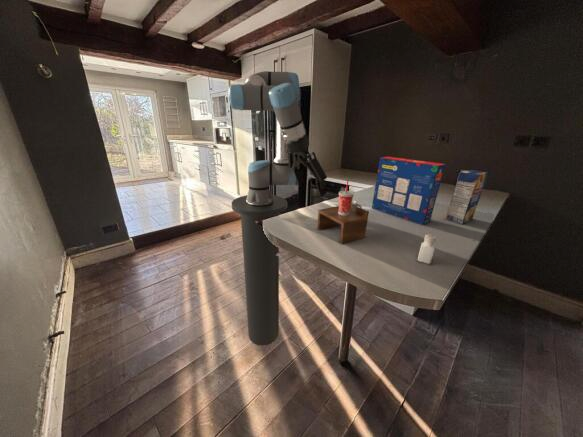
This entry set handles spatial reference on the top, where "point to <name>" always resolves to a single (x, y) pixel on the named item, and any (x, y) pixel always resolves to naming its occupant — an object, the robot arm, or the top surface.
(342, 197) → the beverage cup
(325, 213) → the shelf
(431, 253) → the pepper shaker
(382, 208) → the blue flat box
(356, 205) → the cup
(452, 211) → the juice carton
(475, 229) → the top surface
